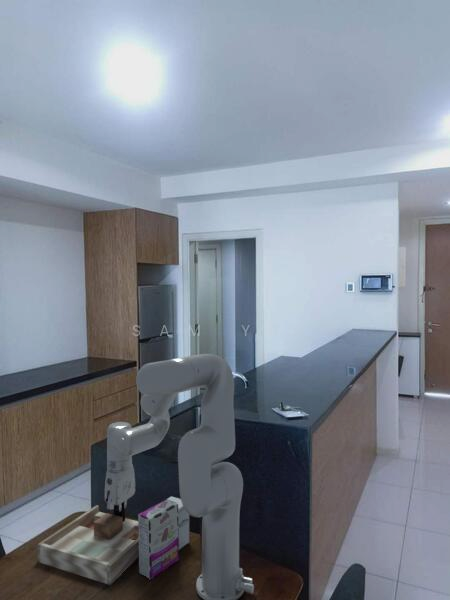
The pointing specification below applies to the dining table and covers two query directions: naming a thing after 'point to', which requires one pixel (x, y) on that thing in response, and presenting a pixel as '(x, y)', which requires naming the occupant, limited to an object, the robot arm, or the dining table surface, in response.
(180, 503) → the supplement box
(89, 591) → the dining table surface
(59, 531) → the tray
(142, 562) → the candy bar box
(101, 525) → the walnut block
